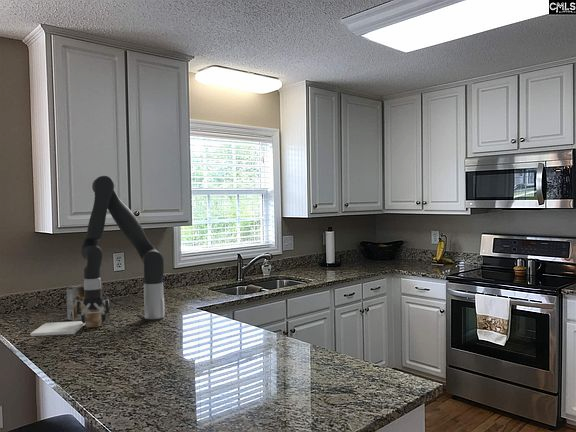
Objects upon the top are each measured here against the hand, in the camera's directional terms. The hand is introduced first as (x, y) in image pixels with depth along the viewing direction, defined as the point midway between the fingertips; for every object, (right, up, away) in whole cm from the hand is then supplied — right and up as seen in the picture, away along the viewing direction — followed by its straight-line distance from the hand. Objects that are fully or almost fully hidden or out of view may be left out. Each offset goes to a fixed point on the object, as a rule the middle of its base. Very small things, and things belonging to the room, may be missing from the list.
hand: (93, 322), depth 223 cm
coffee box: (-13, -1, +14) cm, 19 cm away
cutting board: (-13, -2, -6) cm, 15 cm away
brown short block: (0, -2, 0) cm, 2 cm away
